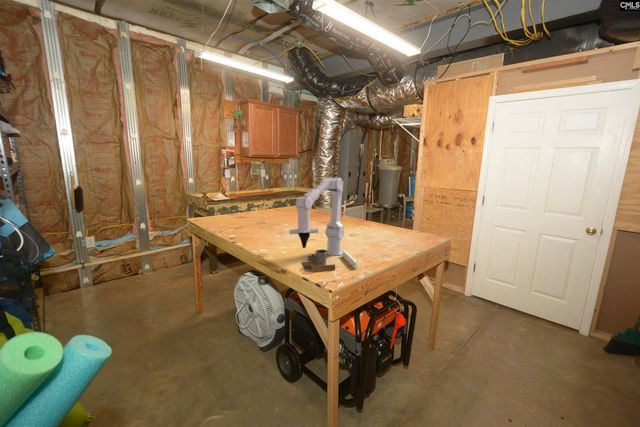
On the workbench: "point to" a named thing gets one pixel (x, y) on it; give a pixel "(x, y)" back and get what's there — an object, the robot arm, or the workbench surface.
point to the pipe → (319, 257)
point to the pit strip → (306, 265)
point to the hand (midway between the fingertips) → (303, 247)
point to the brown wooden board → (323, 266)
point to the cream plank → (349, 259)
